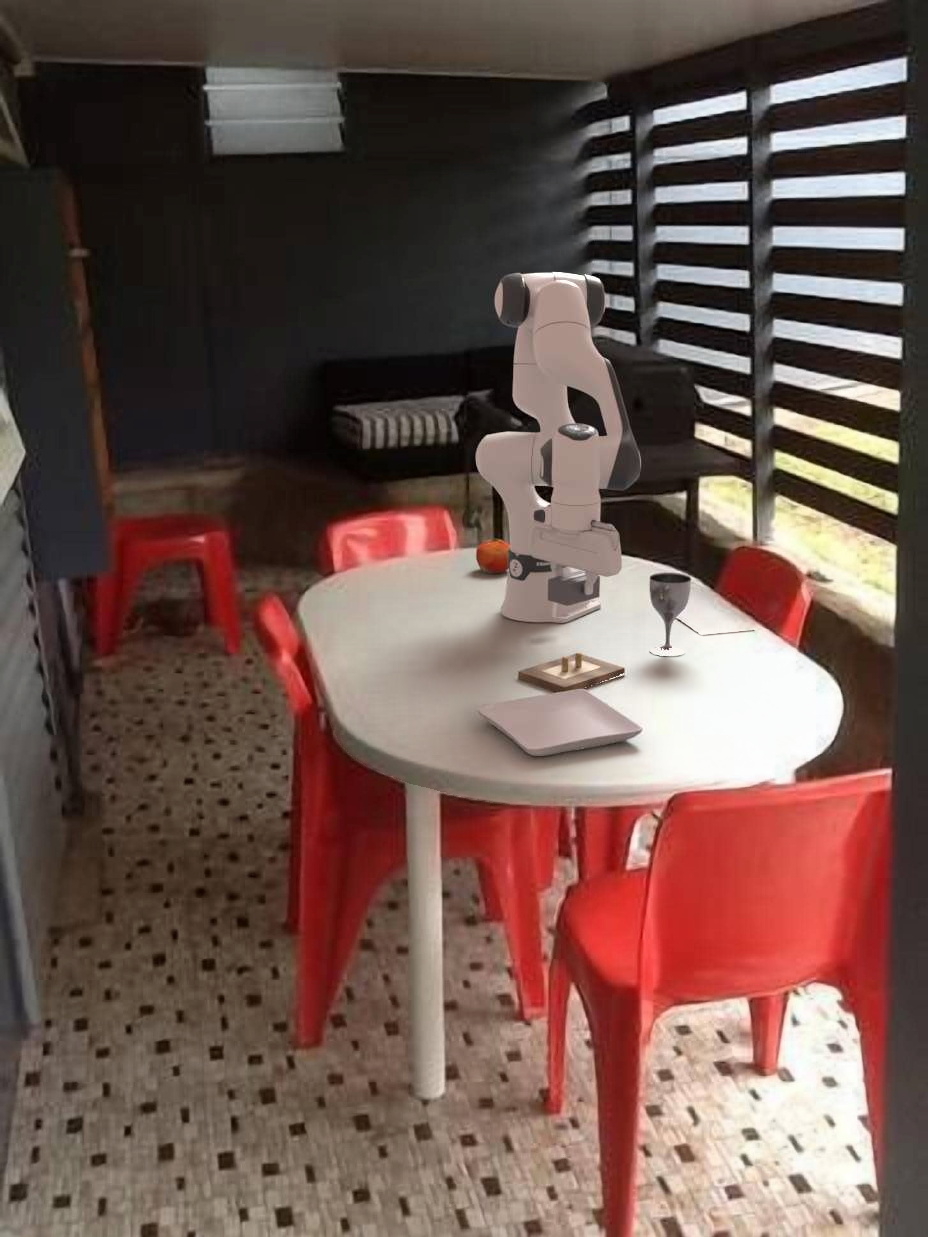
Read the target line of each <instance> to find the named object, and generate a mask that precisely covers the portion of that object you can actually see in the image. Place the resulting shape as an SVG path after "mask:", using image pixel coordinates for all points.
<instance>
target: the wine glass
mask: <svg viewBox="0 0 928 1237" xmlns="http://www.w3.org/2000/svg"><path fill="white" fill-rule="evenodd" d="M648 584H649V598H650V602H651V605H652V607H653V609H654V610H655V611H656V613H658V615H659V616H660V617H661V619H662V620H663V623H664V628H665V643H664V645H661V646H662V647H660V648H661V650H662V648H663V649H664V650H666V649H667V650H669V648H672V646H673V645H671V644H670V643H671V642H670V641H671V640H670V639H671V630H672V625H673V623H674V621H675V620H676V617H677V616H678V615H679V614H680V613H681V612H682V611H683V610H684V609H685V607H686V605H688V602H689V600H690V594H691V587H692V586H691V585H692V578H691V576H689V575H687V574H684V573H677V572H657V573H653V574H651V575H650V576H649V583H648Z"/></svg>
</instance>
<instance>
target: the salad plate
mask: <svg viewBox="0 0 928 1237" xmlns="http://www.w3.org/2000/svg"><path fill="white" fill-rule="evenodd" d="M475 710H476V711H477V713H478V714H479V716H480V717H482V718H483V719H484V720H485V721H486V722H488V723H489V724H491V725H492V726H493V727H495V728H497V729H498V730H499V731H501V733H503V734H505V735H506V737H508V738H510V739H511V740H512V742H514V743H516V744H517V745H518V746H520V748H521V749H522V750H523V751H524V752H526V754H528V755H531V756H534V757H535V756H536V757H543V756H545V757H546V756H549V755H551V756H552V755H556V753H557V754H561V752H563V753H567V752H566V751H569V752H572V751H571V750H575V751H578V750H577V749H580V750H583V749H582V748H586V749H589V748H588V747H591V748H594V747H593V746H596V747H599V746H598V745H602V746H605V745H604V744H607V745H609V743H611V744H615V742H616V743H620V742H624V741H627V740H631V739H632V738H635V737H636V736H638V735H640V734H641V733H642V731H643V728H642V726H641V725H639V724H638V723H636V722H635V721H634V720H632V719H630V718H629V717H627V716H625V714H623V713H622V712H620V711H618V710H616V709H615V708H614V707H613V706H611V705H609V704H608V703H607V702H605V701H603V700H602V699H601V698H599V697H598V696H596V695H594V694H592V693H591V692H590V691H588V690H586V688H585V689H576V690H571V691H564V692H558V693H557V692H553V693H547V694H546V693H545V694H540V695H539V694H538V695H535V696H529V697H523V698H518V699H511V700H506V701H501V702H500V701H499V702H494V703H489V704H482V705H479V706H476V709H475Z"/></svg>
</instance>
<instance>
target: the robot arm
mask: <svg viewBox="0 0 928 1237" xmlns="http://www.w3.org/2000/svg"><path fill="white" fill-rule="evenodd" d="M606 305H607V296H606V292H605V287H604V284H603V282H602V281H601V280H600V278H598V277H597V276H592V275H589V274H582V275H580V274H575V273H568V272H557V271H551V272H534V273H533V272H532V273H531V272H530V273H523V274H522V273H521V272H514V273H510V274H506V275H504V276H503V277H502V278H501V279H500V281H499V283H498V286H497V288H496V291H495V294H494V307H495V312H496V314H497V318H498V320H499V321H500V322H501V323H502V324H503V325H505V326H508V327H511V328H514V329H515V328H516V329H517V328H518V329H517V333H516V337H515V343H514V344H515V345H514V354H513V369H512V370H513V375H512V376H513V377H512V378H513V379H512V399H513V402H514V404H515V406H516V407H517V409H519V410H521V412H523V413H525V414H527V415H528V416H530V417H533V418H534V419H535V420H537V422H538V424H539V428H540V431H539V432H529V431H527V432H526V431H503V432H496V433H491V434H486V435H484V437H483V438H482V439H481V441H480V442H479V443H478V445H477V448H476V451H475V463H476V464H475V465H476V467H477V470H478V472H479V474H480V476H482V478H483V479H484V480H485V481H487V482H488V483H489V484H490V485H491V486H492V487H493V488H494V489H495V491H496V492H497V493H498V494H499V495H500V497H501V499H502V501H503V502H504V505H505V508H506V512H507V516H508V525H509V527H508V528H509V545H510V548H509V549H508V555H507V558H508V568H509V569H508V570H507V571H508V572H507V577H506V578H507V579H506V587H505V588H506V589H505V594H504V600H503V601H502V608H501V614H502V616H504V617H505V618H508V619H510V620H514V621H517V622H519V621H520V622H526V623H558V624H560V623H562V624H564V623H568V622H571V621H572V620H575V619H578V618H580V617H583V616H584V615H587V614H589V613H592V612H594V611H596V610H599V609H601V608H602V607H601V603H600V601H598V599H596V598H594V599H591V600H587V601H584V602H580V603H577V604H573V605H569V606H566V605H562V604H559V603H556V602H552V601H549V600H548V579H550V578H554V577H558V576H562V575H566V574H570V573H573V572H577V570H578V571H583V572H585V577H588V578H587V580H586V582H585V584H581V593H582V594H585V595H590V594H592V593H593V584H594V583H595V582H596V580H597V578H598V576H600V577H601V576H602V577H609V578H610V577H612V576H613V577H614V576H616V575H618V574H620V572H621V570H622V567H623V563H622V561H623V558H622V548H621V542H620V532H618V530H617V529H616V528H615V526H614V525H613V524H611V523H605V522H602V521H601V494H600V491H599V490H600V489H601V490H602V489H606V490H608V491H609V490H611V491H625V490H627V489H628V488H629V487H631V486H632V485H633V484H634V483H636V482H637V480H638V479H639V478H640V476H641V475H640V474H641V468H642V460H641V455H640V454H641V453H640V450H639V448H638V445H637V442H636V439H635V437H634V434H633V431H632V427H631V426H630V421H629V417H628V414H627V413H628V412H627V410H626V406H625V402H624V399H623V395H622V392H621V388H620V384H619V381H618V378H617V376H616V372H615V369H614V368H613V365H612V363H611V361H610V360H609V359H607V358H605V357H604V356H602V354H600V353H599V351H598V349H597V348H596V345H594V342H593V338H592V330H591V329H592V328H595V327H596V326H597V325H598V324H599V323H600V322H601V320H602V319H603V315H604V313H605V310H606ZM568 387H570V388H573V389H575V390H579V391H581V392H583V393H585V394H587V395H589V396H591V397H592V398H594V400H595V401H596V402H597V404H598V406H599V409H600V413H601V416H602V420H603V424H604V428H605V431H606V434H607V435H603V436H602V435H601V436H600V435H599V432H598V429H596V428H595V427H594V426H591V425H588V424H586V423H576V422H575V420H574V418H573V416H572V413H571V410H570V408H569V403H568ZM536 486H540V487H541V486H543V487H544V486H545V487H550V488H551V487H552V488H553V490H552V494H551V498H550V501H551V502H548V501H547V500H544V499H543V498H542V497H540V495H539V494H538V493H537V491H536V488H535V487H536Z"/></svg>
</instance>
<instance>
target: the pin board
mask: <svg viewBox="0 0 928 1237" xmlns="http://www.w3.org/2000/svg"><path fill="white" fill-rule="evenodd" d="M625 671H626V670H625V667H624V666H620V665H617V664H614V663H611V662H608V661H605V660H602V659H599V658H595V657H592V656H589V655H586V654H583V653H582V652H576V653H573V654H570V655H567V656H566V655H565V656H562V657H560V658H557V659H554V660H551V661H550V660H549V661H547V662H544V663H540V664H538V665H534V666H531V667H528V668H524V669H521V670H517V673H518V674H517V679H518V680H521V681H524V682H526V683H529V684H531V683H532V684H531V685H535V686H538V687H540V688H542V689H546V690H548V689H549V691H551V690H552V691H551V692H553V693H557V692H564V691H571V690H576V689H584V688H585V687H588V688H591V687H592V686H591V685H594V686H596V685H595V684H597V683H600V682H602V681H605V680H609V679H610V678H613V677H616V676H619V675H620V674H623V673H625ZM625 674H626V673H625ZM609 681H610V680H609ZM600 684H601V683H600ZM597 685H598V684H597ZM590 686H591V687H590ZM585 689H586V688H585Z"/></svg>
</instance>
